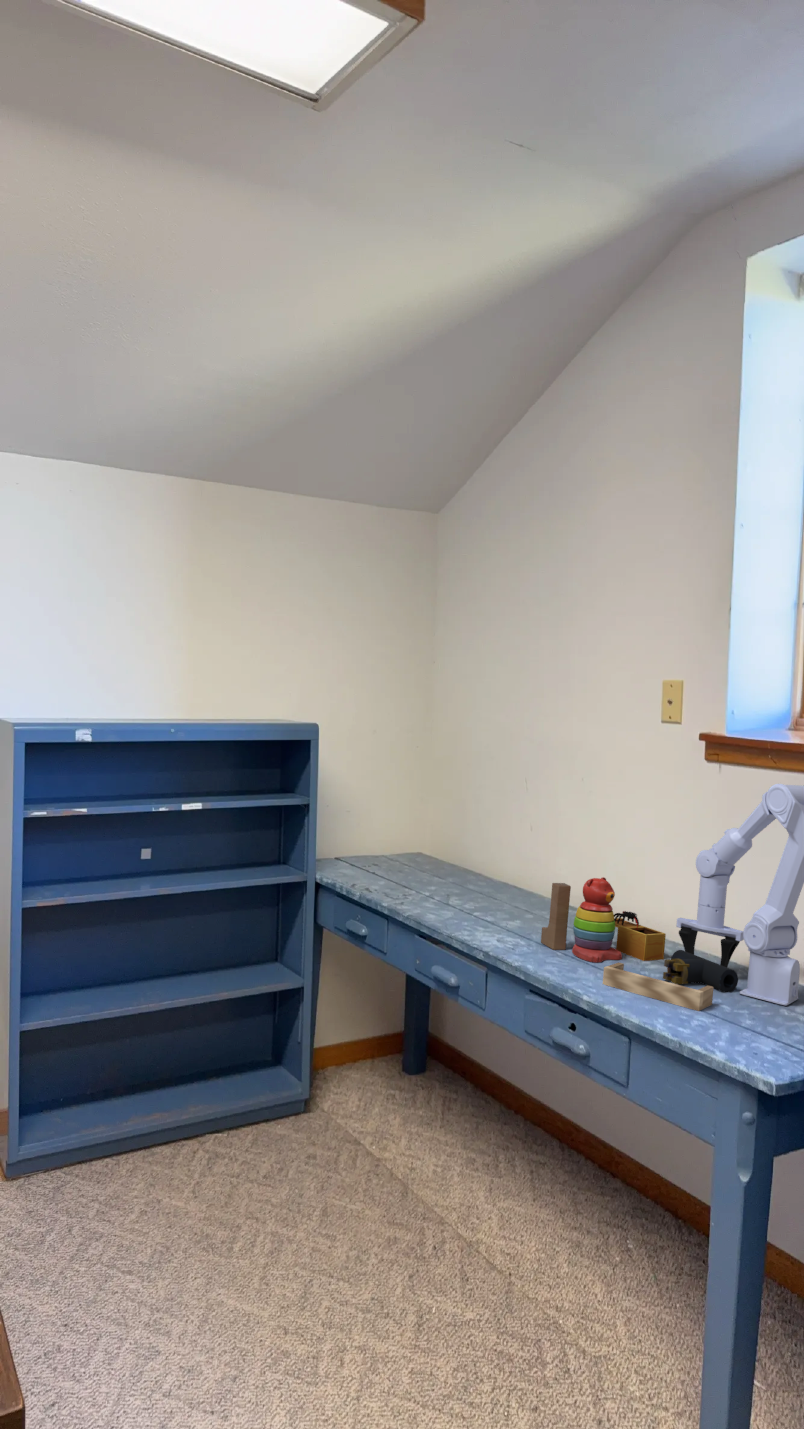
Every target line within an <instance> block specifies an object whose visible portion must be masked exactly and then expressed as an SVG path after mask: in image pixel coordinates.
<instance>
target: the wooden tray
mask: <svg viewBox="0 0 804 1429" xmlns="http://www.w3.org/2000/svg"><path fill="white" fill-rule="evenodd" d="M624 966H625V963H622V962H615V963H612V964H610V965H607V966H604V967H603V973H602V974H603V975H602V985H603V984H604V986H608V987H611V988H614V987H615V989H617V990H622V991H625V992H629V993H632V994H636V995H639V996H642V997H647V998H650V999H654V1000H658V1001H660V1002H665V1003H669V1004H670V1005H671V1004H672V1005H676V1006H679V1007H683V1008H686V1009H690V1010H692V1011H693V1010H694V1011H698V1012H700V1011H702V1010H704V1009H707V1008H709V1007H710V1006H713V1000H714V989H715V988H714V987H712V986H708V985H705V986H702V987H701V988H699V989H695V988H691V987H688V986H683V985H682V984H681V985H678V984H674V983H672V982H668V981H667V980H666V981H665V980H661V979H659V978H654V977H651V976H646V975H642V974H639V973H636V972H631V971H628V970H625V969H624V968H625V967H624Z"/></svg>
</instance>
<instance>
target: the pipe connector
mask: <svg viewBox="0 0 804 1429" xmlns="http://www.w3.org/2000/svg"><path fill="white" fill-rule="evenodd" d="M663 964H664V965H663V966H664V967H666V968H667V969H666V971H664V972H663V974H662V979H663V980H664V981H665V980H666V981H670V983H673V984H677V985H681V986H682V985H688V984H704V985H705V986H707V985H708V986H712V987H714V988H713V989H715V990H718V991H719V992H722V993H732V992H734V991H735V989H736V988H737V986H738V984H739V976H738V973H737V971H736V970H735V969H732V968H729V967H724V966H722V965H720V963H717V962H714V961H711V960H708V959H706V958H703V957H700V956H699V955H696V954H695V953H694V954H691V953H688V952H686V951H685V950H683V949H678V950H676V951H674V953H673V954H672V955H671V957H670V959H664V963H663Z"/></svg>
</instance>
